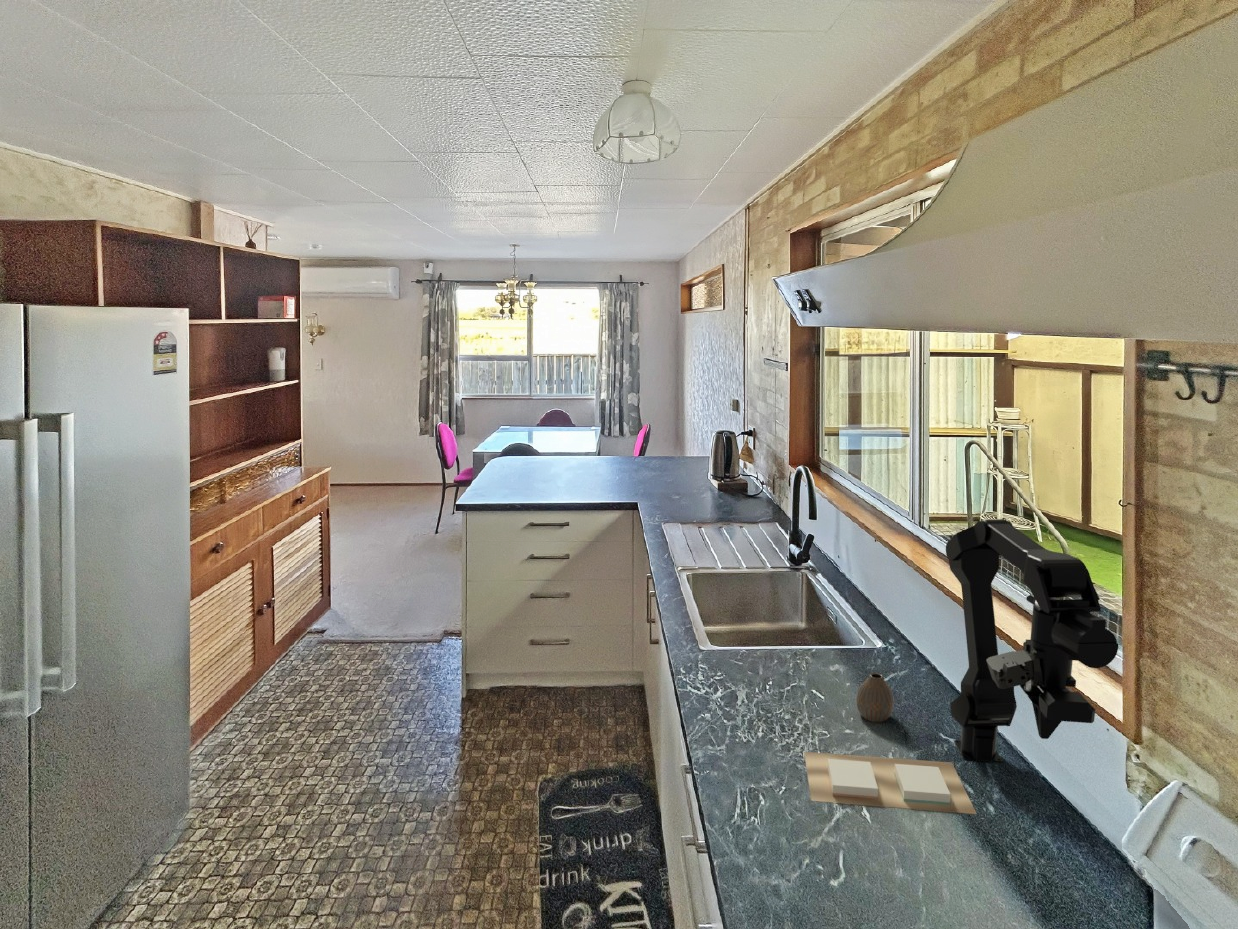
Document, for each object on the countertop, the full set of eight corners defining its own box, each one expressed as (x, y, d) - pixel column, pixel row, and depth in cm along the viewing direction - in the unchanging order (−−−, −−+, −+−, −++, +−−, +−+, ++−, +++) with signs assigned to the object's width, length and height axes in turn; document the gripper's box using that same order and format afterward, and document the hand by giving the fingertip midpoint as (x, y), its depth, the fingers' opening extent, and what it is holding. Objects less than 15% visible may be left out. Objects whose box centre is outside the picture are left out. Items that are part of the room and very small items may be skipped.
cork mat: (804, 754, 141) (804, 751, 141) (951, 764, 137) (951, 762, 137) (811, 803, 126) (811, 800, 126) (976, 816, 123) (976, 814, 123)
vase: (868, 729, 150) (870, 685, 148) (848, 712, 156) (850, 670, 155) (900, 724, 151) (902, 681, 150) (880, 708, 158) (882, 666, 157)
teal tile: (894, 763, 134) (904, 790, 126) (938, 767, 133) (950, 794, 125) (894, 773, 134) (903, 801, 126) (937, 777, 133) (949, 804, 125)
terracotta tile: (827, 759, 135) (832, 785, 127) (870, 762, 134) (878, 788, 126) (827, 768, 136) (832, 795, 128) (869, 771, 134) (877, 799, 127)
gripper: (977, 615, 128) (971, 705, 131) (1014, 662, 110) (1006, 765, 113) (1051, 619, 127) (1043, 710, 129) (1101, 667, 108) (1090, 772, 111)
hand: (1043, 737), depth 121 cm, fingers closed
